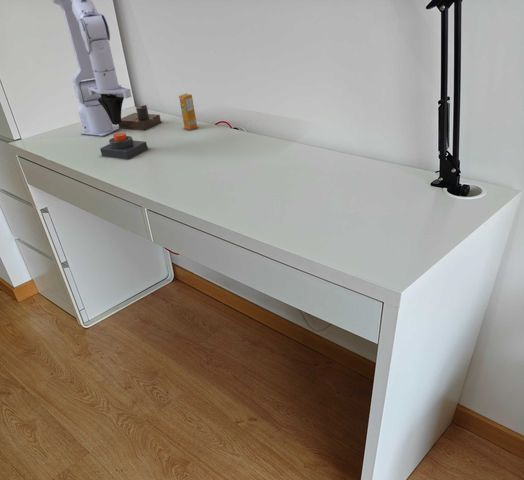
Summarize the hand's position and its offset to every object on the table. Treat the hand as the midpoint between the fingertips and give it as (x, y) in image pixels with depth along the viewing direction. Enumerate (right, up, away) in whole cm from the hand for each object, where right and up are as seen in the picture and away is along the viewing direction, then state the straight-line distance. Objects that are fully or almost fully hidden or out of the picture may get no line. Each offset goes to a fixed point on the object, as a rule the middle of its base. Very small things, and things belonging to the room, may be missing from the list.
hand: (116, 123), depth 141 cm
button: (0, -4, +3) cm, 5 cm away
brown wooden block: (0, +12, +28) cm, 30 cm away
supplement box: (+18, +8, +21) cm, 28 cm away
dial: (+2, +13, +24) cm, 27 cm away
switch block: (+1, -6, +5) cm, 8 cm away
